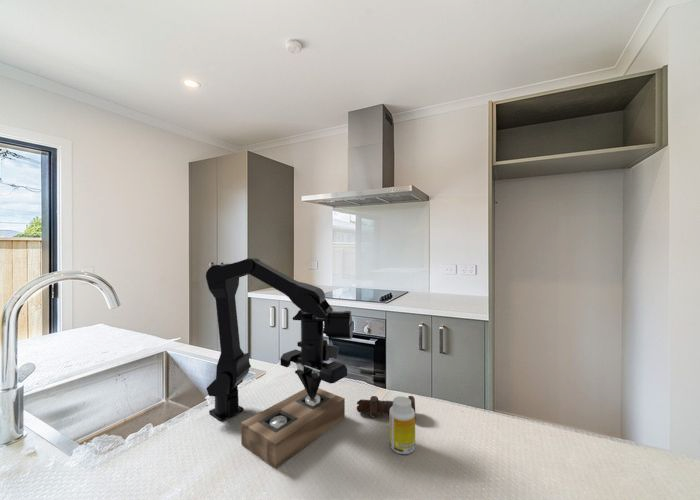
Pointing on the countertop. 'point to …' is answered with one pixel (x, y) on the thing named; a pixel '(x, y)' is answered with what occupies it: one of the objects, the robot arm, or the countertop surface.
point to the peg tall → (278, 421)
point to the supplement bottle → (402, 425)
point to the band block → (291, 426)
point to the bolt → (378, 406)
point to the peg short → (312, 400)
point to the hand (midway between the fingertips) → (312, 398)
